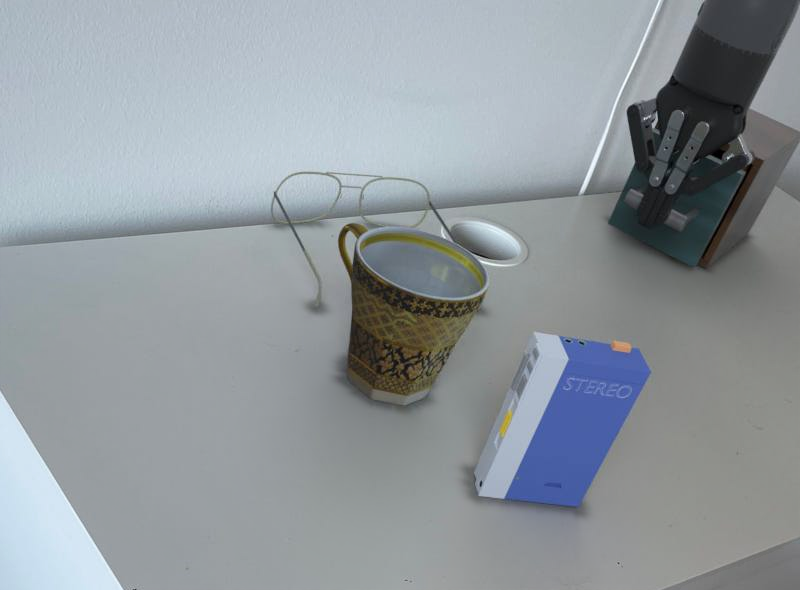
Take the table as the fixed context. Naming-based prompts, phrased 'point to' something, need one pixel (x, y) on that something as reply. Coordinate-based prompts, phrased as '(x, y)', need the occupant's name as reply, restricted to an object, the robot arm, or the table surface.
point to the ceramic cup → (406, 308)
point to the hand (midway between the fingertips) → (646, 224)
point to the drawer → (681, 211)
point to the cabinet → (753, 180)
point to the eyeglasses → (359, 212)
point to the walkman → (559, 419)
